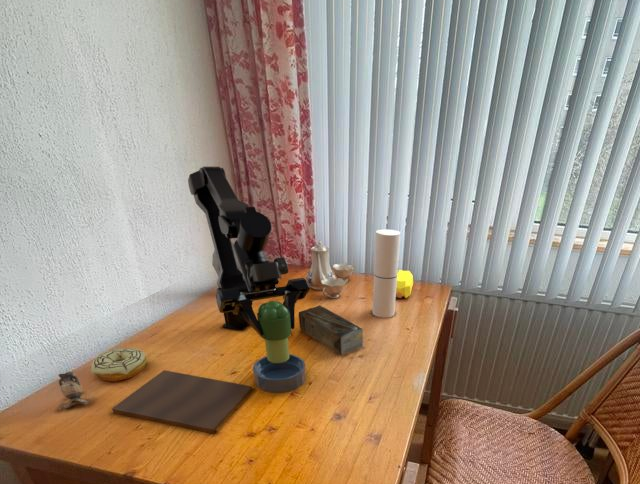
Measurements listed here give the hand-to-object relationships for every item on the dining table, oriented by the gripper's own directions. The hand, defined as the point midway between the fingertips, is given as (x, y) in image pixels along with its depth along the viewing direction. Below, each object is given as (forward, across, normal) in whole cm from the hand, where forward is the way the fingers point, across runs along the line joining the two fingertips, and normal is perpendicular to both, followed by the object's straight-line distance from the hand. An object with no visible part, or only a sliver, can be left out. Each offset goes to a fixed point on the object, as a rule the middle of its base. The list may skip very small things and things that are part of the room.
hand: (277, 331), depth 81 cm
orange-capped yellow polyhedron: (-16, +60, +35) cm, 71 cm away
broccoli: (+4, 0, +6) cm, 7 cm away
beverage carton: (-1, +19, +20) cm, 28 cm away
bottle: (-33, +6, +52) cm, 62 cm away
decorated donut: (-6, -30, +25) cm, 40 cm away
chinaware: (-27, +38, +46) cm, 65 cm away
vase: (0, -39, +20) cm, 43 cm away
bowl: (+8, 0, +10) cm, 13 cm away
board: (+7, -20, +12) cm, 24 cm away
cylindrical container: (-7, +43, +26) cm, 51 cm away
